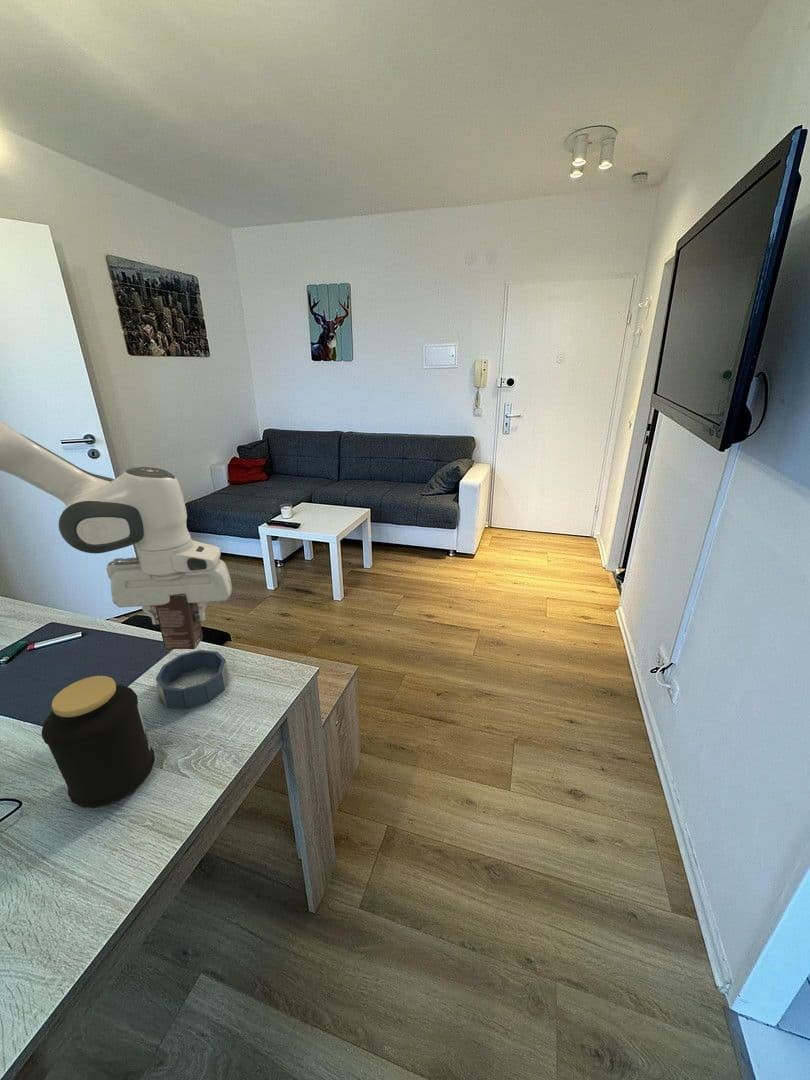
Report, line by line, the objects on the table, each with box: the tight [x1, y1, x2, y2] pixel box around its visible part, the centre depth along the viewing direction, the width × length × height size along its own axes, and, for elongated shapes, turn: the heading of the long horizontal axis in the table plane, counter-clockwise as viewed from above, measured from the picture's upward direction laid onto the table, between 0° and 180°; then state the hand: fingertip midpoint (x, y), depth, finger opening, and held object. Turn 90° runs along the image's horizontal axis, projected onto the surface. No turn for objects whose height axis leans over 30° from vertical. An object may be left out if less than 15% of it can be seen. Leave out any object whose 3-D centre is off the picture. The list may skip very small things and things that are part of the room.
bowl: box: [155, 649, 230, 710], centre depth 89 cm, size 12×13×4 cm
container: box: [41, 675, 156, 809], centre depth 66 cm, size 12×12×18 cm
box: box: [154, 594, 204, 650], centre depth 83 cm, size 6×4×12 cm
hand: (180, 621), depth 84 cm, fingers closed on box, 6 cm apart
